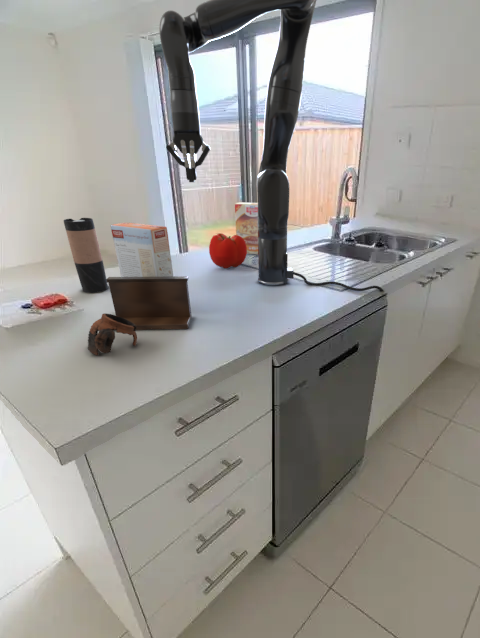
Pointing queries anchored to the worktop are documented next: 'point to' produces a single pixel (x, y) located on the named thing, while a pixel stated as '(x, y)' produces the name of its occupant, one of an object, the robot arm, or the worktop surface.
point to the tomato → (227, 250)
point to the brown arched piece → (108, 332)
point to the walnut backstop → (152, 301)
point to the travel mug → (86, 254)
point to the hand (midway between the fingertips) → (192, 182)
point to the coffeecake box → (247, 225)
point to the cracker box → (142, 250)
